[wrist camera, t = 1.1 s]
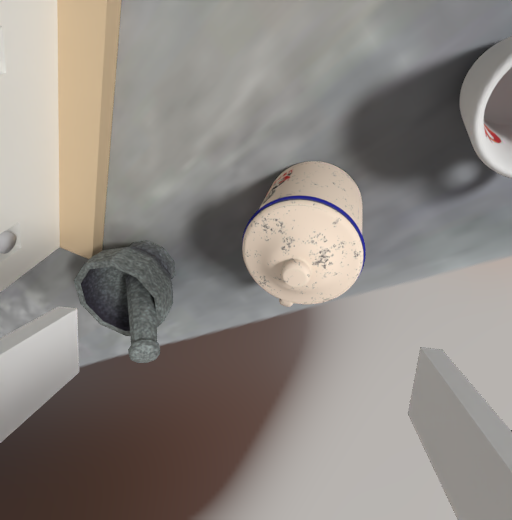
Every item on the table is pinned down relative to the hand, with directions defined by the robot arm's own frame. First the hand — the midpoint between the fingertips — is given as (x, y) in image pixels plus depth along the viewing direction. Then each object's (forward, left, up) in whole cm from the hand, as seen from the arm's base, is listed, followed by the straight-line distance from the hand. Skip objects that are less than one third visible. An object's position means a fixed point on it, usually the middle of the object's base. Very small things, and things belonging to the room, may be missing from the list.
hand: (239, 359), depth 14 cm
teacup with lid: (+5, 0, -23) cm, 23 cm away
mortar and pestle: (+11, -18, -23) cm, 31 cm away
